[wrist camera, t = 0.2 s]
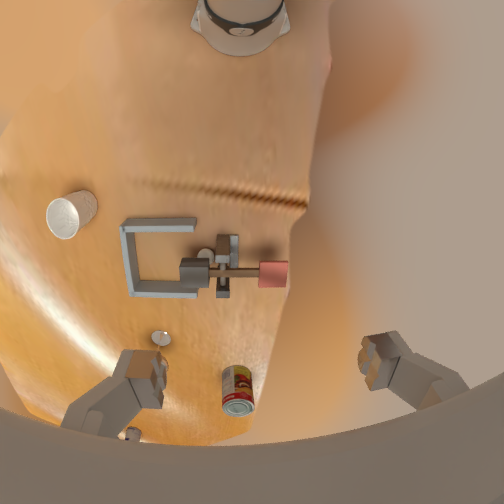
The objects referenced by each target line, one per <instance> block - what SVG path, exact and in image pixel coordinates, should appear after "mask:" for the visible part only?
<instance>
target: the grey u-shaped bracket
mask: <svg viewBox="0 0 504 504" xmlns="http://www.w3.org/2000/svg"><path fill="white" fill-rule="evenodd" d="M195 227H196V218H143V219H127V220H126V221H124V222H123V223H122V224H121V225H120V226H119V230H120V238H121V246H122V253H123V260H124V267H125V273H126V279H127V285H128V290H129V296H131V297H159V298H197V295H198V289H199V288H191V287H181V282H180V281H145V280H140V277H139V270H138V263H137V255H136V247H135V238H134V232H194V229H195Z"/></svg>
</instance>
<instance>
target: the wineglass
mask: <svg viewBox="0 0 504 504" xmlns="http://www.w3.org/2000/svg"><path fill="white" fill-rule="evenodd" d="M152 340H153V341H154V342H155V343H156V344H158V347H157V350H156V351H159V349H160V345H161V346H165V345H168V344H169V343H170V341H171V338H170V336H169V335H168V334H167V333H166V332H164V331H155V332H154V333H152ZM161 356H162V355H161ZM161 364H163V365H164V366H165V369H166V375H167V371H168V362H167V360H166V359H165V357H164V356H162V361H161Z"/></svg>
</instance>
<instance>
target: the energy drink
mask: <svg viewBox="0 0 504 504" xmlns="http://www.w3.org/2000/svg"><path fill="white" fill-rule="evenodd" d="M140 436H141V431H140V430H139V429H137V428H135V427H129V428H127V432H126V437H125V440H128V441H135V442H139V441H140Z"/></svg>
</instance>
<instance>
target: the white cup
mask: <svg viewBox="0 0 504 504" xmlns="http://www.w3.org/2000/svg"><path fill="white" fill-rule="evenodd" d="M97 209H98V206H97V200H96V198H95V196H94V195H93V194H92V193H91V192H89V191H86V190H81V191H78V192H74V193H70V194H68V195H65V196H62V197H60V198H57V199H55V200H53V201H52V202H51V203H50V204H49V206H48V208H47V213H46V219H47V224H48V226H49V228H50V230H51V232H52V233H53V234H54V235H55V236H57V237H58V238H61V239H69V238H72V237H73V236H74V235H75V234H76V233H77V232H79V231H80V230H81V229H82V228H83V227H84V226H85V225H86V224H87V223H88V222H89V221H90V220H91V219H92V218H93V217H94V216H95V215H96V212H97Z"/></svg>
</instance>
